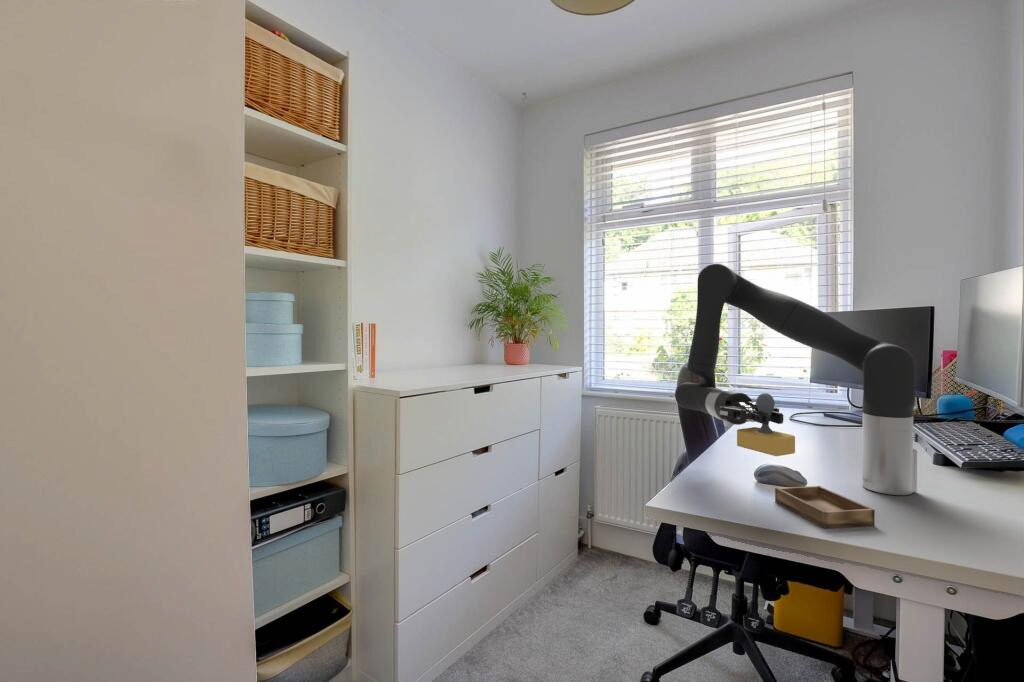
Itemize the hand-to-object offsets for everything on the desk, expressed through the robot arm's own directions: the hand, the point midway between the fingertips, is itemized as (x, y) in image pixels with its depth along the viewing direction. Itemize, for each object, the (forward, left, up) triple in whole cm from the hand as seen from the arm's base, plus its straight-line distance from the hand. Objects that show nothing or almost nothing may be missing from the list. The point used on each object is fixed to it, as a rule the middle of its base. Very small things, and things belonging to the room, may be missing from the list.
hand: (774, 419), depth 101 cm
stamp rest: (-8, +3, -19) cm, 20 cm away
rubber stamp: (0, -3, -7) cm, 8 cm away
